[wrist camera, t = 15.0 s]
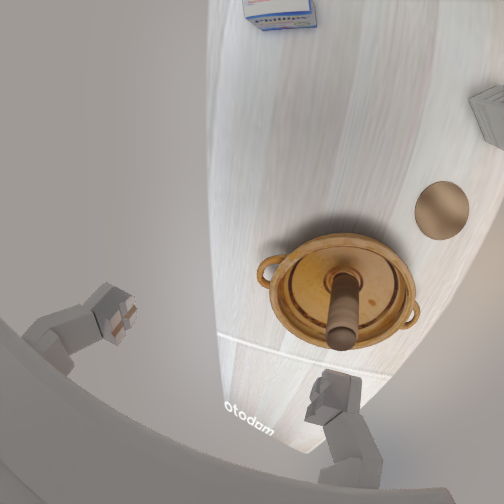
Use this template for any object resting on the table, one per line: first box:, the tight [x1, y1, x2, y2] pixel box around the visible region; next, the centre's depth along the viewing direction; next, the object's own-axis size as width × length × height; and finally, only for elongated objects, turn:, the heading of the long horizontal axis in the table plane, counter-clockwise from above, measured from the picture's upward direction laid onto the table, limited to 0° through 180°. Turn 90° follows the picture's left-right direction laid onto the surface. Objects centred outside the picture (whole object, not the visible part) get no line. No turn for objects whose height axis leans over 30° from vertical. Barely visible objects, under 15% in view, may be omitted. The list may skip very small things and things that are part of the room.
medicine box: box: [242, 0, 317, 31], centre depth 25 cm, size 8×4×9 cm, turn 95°
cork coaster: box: [415, 182, 469, 240], centre depth 36 cm, size 10×10×1 cm
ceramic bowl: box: [257, 233, 420, 350], centre depth 46 cm, size 30×24×8 cm
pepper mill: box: [325, 274, 359, 351], centre depth 36 cm, size 4×4×11 cm
